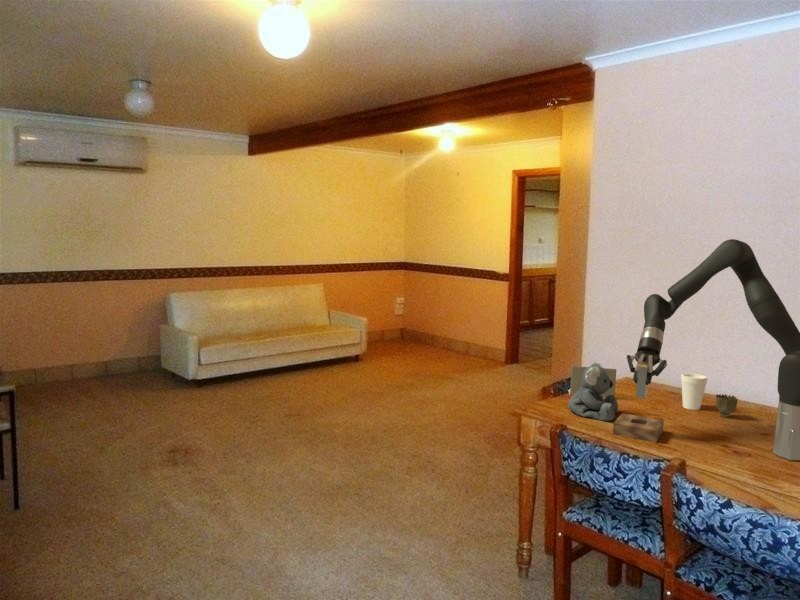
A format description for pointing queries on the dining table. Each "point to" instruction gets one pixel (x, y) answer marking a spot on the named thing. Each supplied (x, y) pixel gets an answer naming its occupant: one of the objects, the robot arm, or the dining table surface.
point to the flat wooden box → (638, 427)
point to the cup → (726, 404)
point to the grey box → (577, 377)
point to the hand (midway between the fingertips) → (641, 382)
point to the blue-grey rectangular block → (642, 379)
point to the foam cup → (693, 390)
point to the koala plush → (594, 395)
